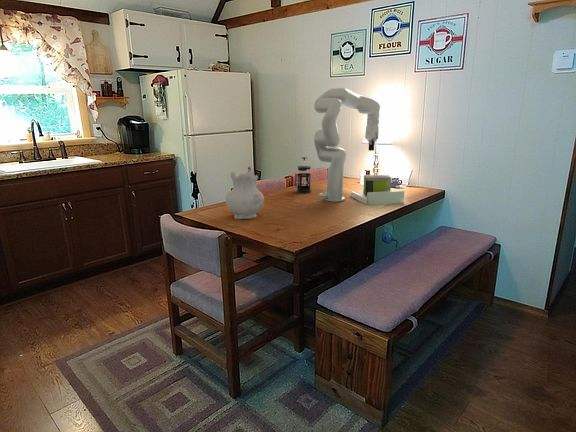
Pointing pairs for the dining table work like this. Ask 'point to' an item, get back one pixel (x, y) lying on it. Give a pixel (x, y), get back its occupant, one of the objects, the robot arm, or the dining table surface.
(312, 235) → the dining table surface
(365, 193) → the tea box
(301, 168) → the french press
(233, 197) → the ceramic pitcher
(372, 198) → the bay
